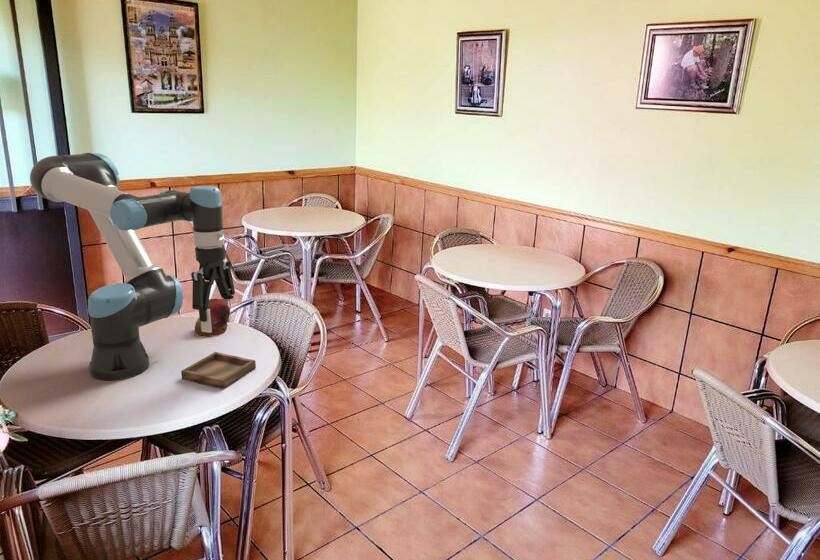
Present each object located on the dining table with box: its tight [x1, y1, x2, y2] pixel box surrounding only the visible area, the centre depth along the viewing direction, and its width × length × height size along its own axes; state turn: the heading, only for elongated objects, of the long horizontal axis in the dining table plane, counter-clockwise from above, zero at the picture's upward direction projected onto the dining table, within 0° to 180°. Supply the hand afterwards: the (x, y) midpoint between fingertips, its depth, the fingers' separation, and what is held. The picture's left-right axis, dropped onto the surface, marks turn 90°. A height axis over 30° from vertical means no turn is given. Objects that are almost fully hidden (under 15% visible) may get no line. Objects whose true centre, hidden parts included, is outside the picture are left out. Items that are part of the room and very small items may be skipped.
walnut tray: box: [180, 351, 257, 390], centre depth 167 cm, size 14×14×2 cm
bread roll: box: [194, 317, 229, 338], centre depth 196 cm, size 10×10×8 cm
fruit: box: [207, 298, 231, 328], centre depth 164 cm, size 8×8×8 cm
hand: (216, 326), depth 165 cm, fingers closed on fruit, 8 cm apart
